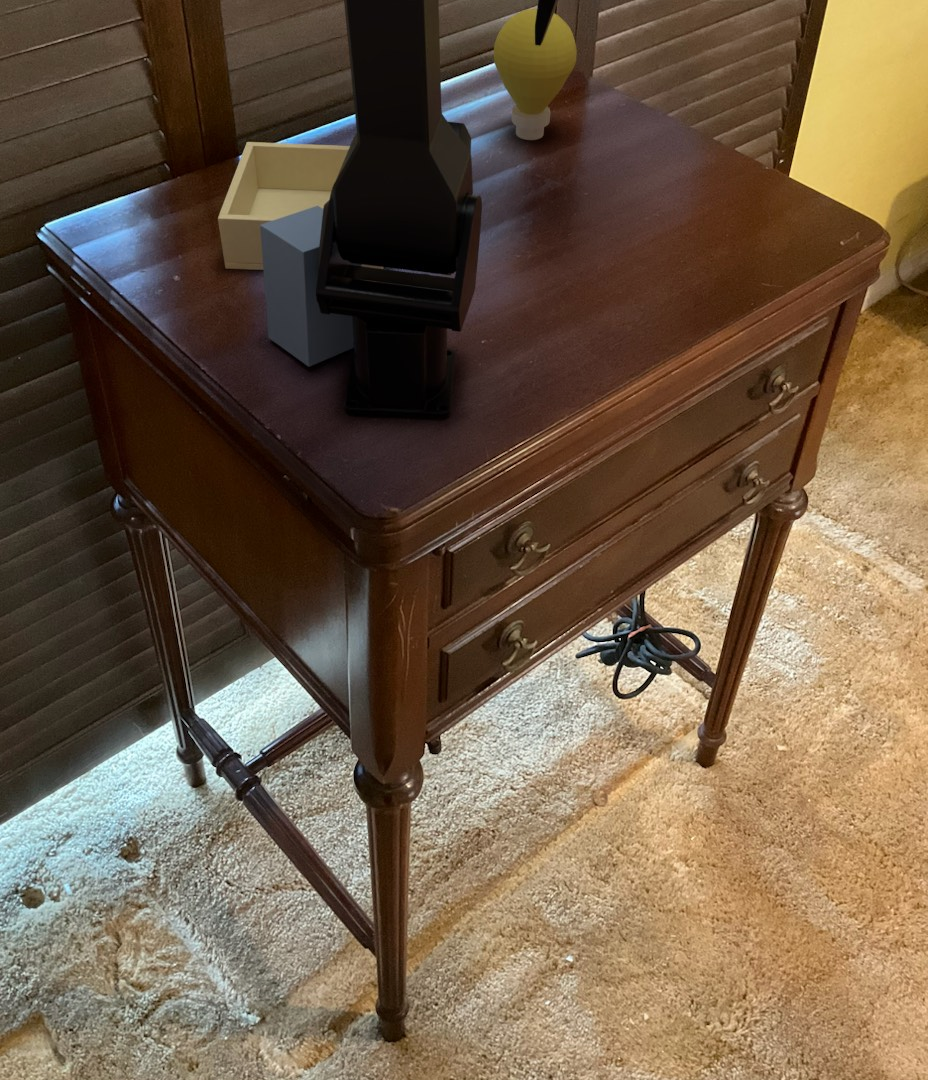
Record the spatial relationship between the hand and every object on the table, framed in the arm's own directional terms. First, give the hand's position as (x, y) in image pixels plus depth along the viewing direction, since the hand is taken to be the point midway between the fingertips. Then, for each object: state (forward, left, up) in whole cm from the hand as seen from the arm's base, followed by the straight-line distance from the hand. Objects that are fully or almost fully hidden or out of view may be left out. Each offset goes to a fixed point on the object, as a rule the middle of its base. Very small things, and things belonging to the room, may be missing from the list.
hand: (473, 35), depth 77 cm
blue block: (-19, +9, -13) cm, 24 cm away
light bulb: (+12, -5, -13) cm, 19 cm away
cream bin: (-5, +11, -13) cm, 18 cm away
